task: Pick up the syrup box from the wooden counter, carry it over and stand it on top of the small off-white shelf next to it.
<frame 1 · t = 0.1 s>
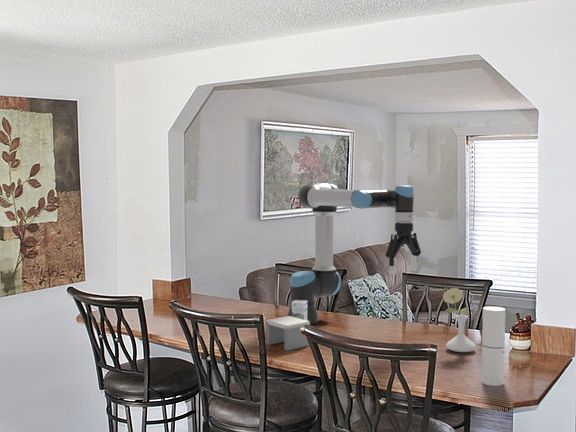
hand: (403, 272, 281), 28 cm above the breakfast bar, tool pointing down, fingers open, 13 cm apart
cylindrical container: (492, 383, 222), on the breakfast bar
syrup box: (299, 334, 289), on the breakfast bar
low shelf: (287, 344, 270), on the breakfast bar
flower in vase: (458, 351, 262), on the breakfast bar
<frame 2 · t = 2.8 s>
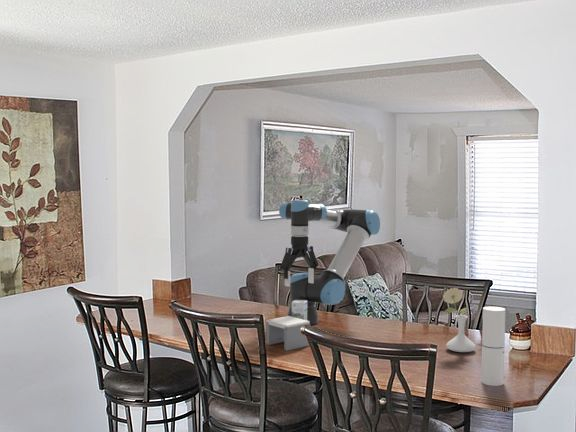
hand: (299, 284, 287), 22 cm above the breakfast bar, tool pointing down, fingers open, 13 cm apart
nothing on the breakfast bar moved.
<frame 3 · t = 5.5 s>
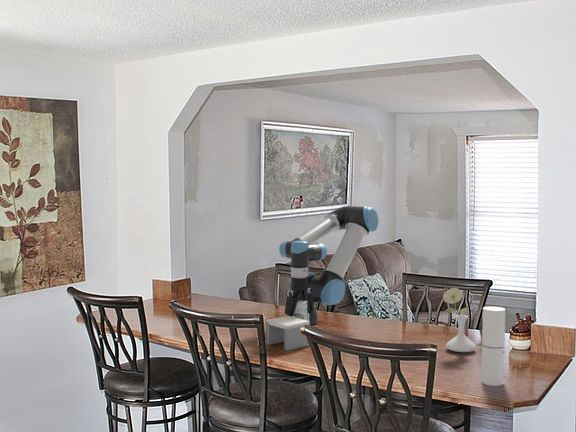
hand: (299, 328, 289), 2 cm above the breakfast bar, tool pointing down, fingers closed on syrup box, 7 cm apart
syrup box: (299, 334, 289), on the breakfast bar, touching gripper
everything else where it was.
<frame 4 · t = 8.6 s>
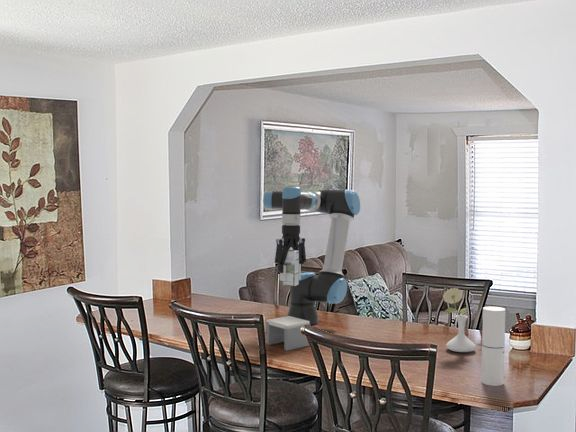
hand: (290, 279, 273), 26 cm above the breakfast bar, tool pointing down, fingers closed on syrup box, 7 cm apart
syrup box: (290, 285, 273), point 24 cm above the breakfast bar, touching gripper
everything else where it was.
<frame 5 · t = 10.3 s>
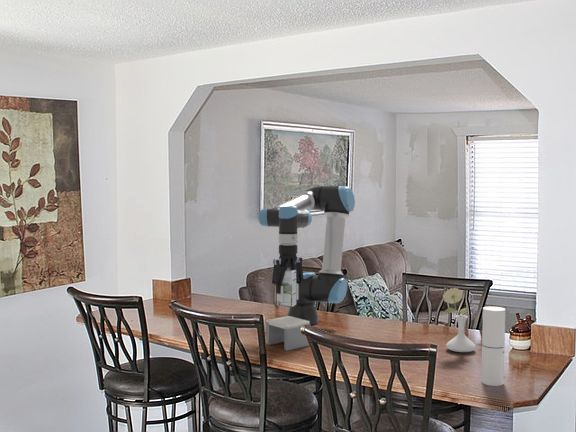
hand: (287, 300, 269), 18 cm above the breakfast bar, tool pointing down, fingers closed on syrup box, 7 cm apart
syrup box: (287, 305, 269), point 16 cm above the breakfast bar, touching gripper
everything else where it was.
when the fingers open (14 cm above the breakfast bar, at t = 12.0 s): syrup box drops 1 cm, resting on low shelf.
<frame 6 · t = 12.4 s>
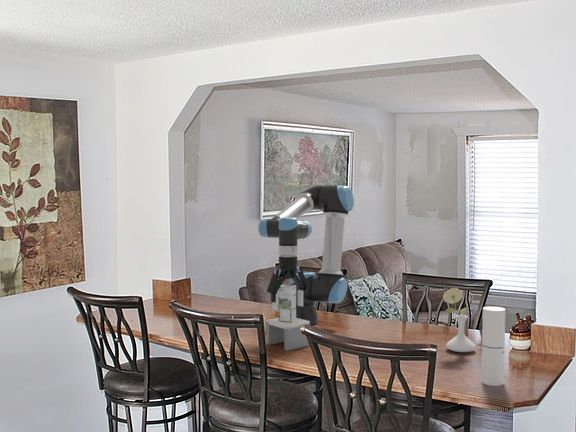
hand: (287, 308, 269), 15 cm above the breakfast bar, tool pointing down, fingers open, 13 cm apart
syrup box: (287, 321, 270), point 10 cm above the breakfast bar, touching low shelf
everything else where it was.
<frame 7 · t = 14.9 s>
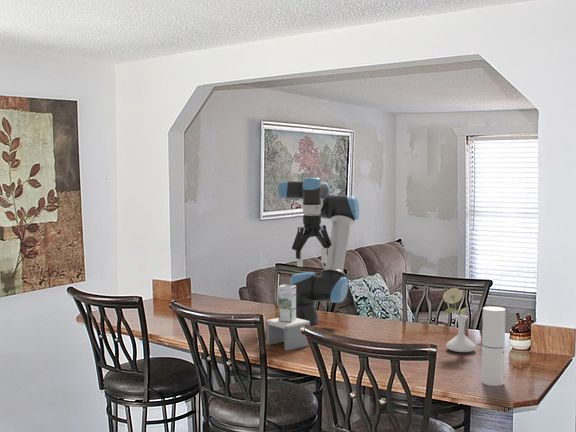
hand: (312, 264, 281), 31 cm above the breakfast bar, tool pointing down, fingers open, 13 cm apart
nothing on the breakfast bar moved.
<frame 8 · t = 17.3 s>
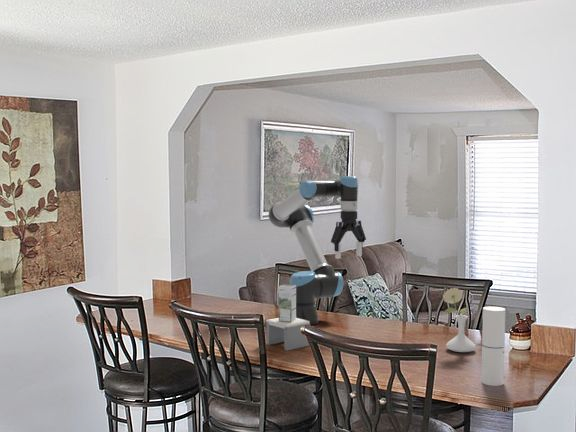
hand: (348, 257, 301), 32 cm above the breakfast bar, tool pointing down, fingers open, 13 cm apart
nothing on the breakfast bar moved.
at the end: syrup box inside the target area (0.3 cm from its centre), point 9.8 cm above the breakfast bar; syrup box tilted 0°; the gripper is holding nothing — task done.
